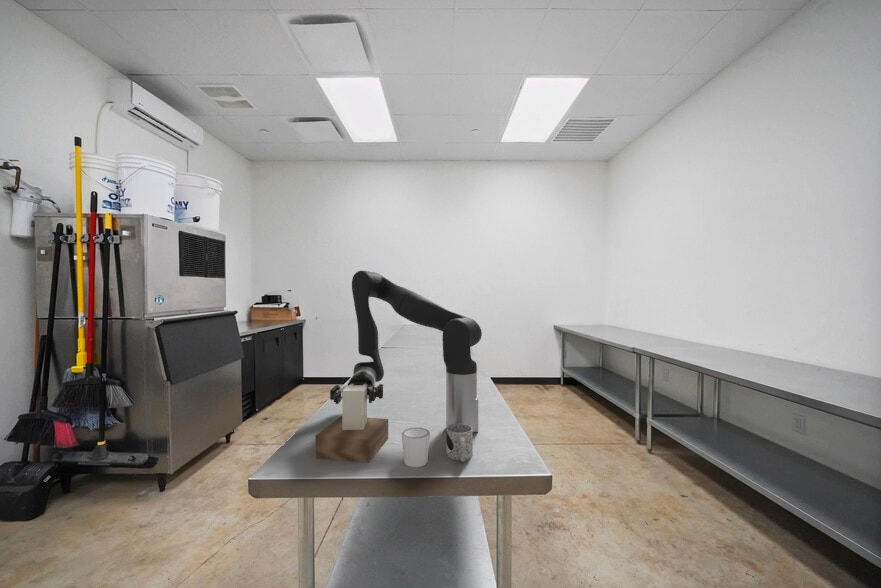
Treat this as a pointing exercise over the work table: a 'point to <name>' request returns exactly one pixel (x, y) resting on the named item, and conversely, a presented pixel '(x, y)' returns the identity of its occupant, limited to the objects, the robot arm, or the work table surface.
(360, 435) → the walnut block
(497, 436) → the work table surface
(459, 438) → the mug
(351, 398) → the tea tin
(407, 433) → the shot glass
